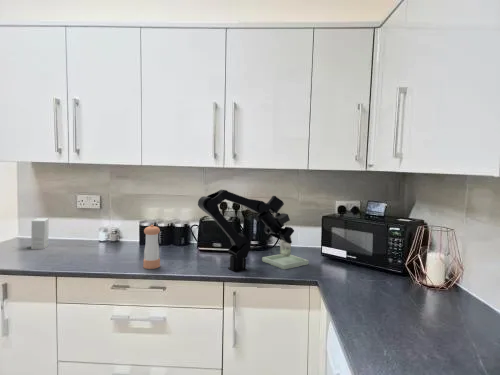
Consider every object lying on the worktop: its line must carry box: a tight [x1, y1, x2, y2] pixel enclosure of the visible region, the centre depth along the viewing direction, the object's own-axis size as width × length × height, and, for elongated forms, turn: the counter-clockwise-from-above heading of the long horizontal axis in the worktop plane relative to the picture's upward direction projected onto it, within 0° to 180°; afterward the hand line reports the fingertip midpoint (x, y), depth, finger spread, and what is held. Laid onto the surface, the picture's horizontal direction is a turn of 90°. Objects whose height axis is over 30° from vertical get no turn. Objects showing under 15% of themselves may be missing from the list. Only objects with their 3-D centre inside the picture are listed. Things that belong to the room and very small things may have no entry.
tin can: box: [279, 235, 292, 257], centre depth 162 cm, size 5×5×11 cm
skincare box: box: [30, 217, 49, 250], centre depth 181 cm, size 8×7×16 cm
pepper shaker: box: [143, 224, 161, 270], centre depth 151 cm, size 7×7×19 cm
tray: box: [261, 253, 310, 270], centre depth 163 cm, size 16×16×2 cm
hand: (287, 241), depth 163 cm, fingers closed on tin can, 5 cm apart
